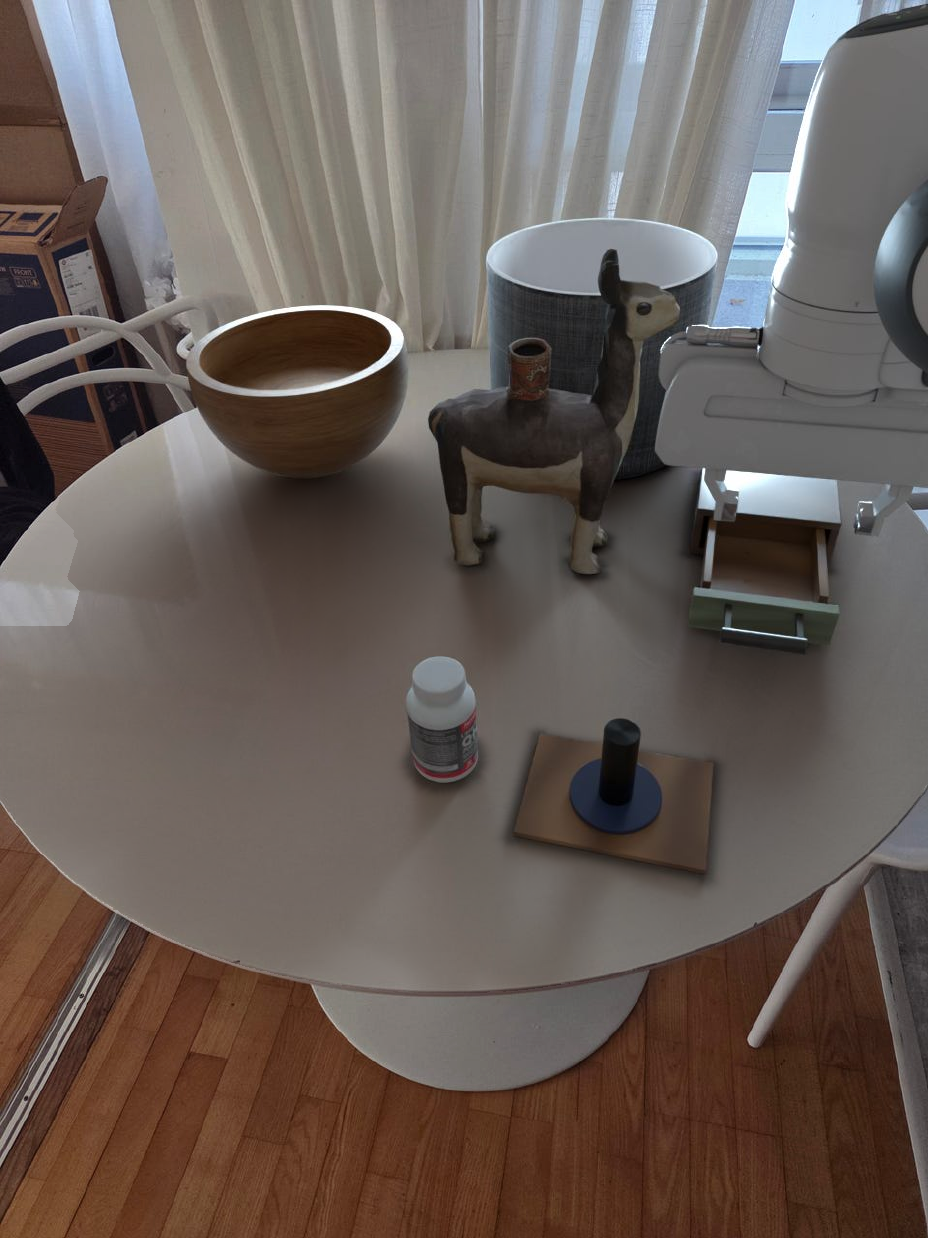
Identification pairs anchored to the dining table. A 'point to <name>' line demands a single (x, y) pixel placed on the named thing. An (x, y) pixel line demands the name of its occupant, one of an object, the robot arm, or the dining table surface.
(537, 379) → the figurine
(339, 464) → the bowl
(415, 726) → the pill bottle
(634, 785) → the lid
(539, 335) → the planter
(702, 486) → the cabinet
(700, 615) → the drawer
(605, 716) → the dining table surface
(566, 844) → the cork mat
